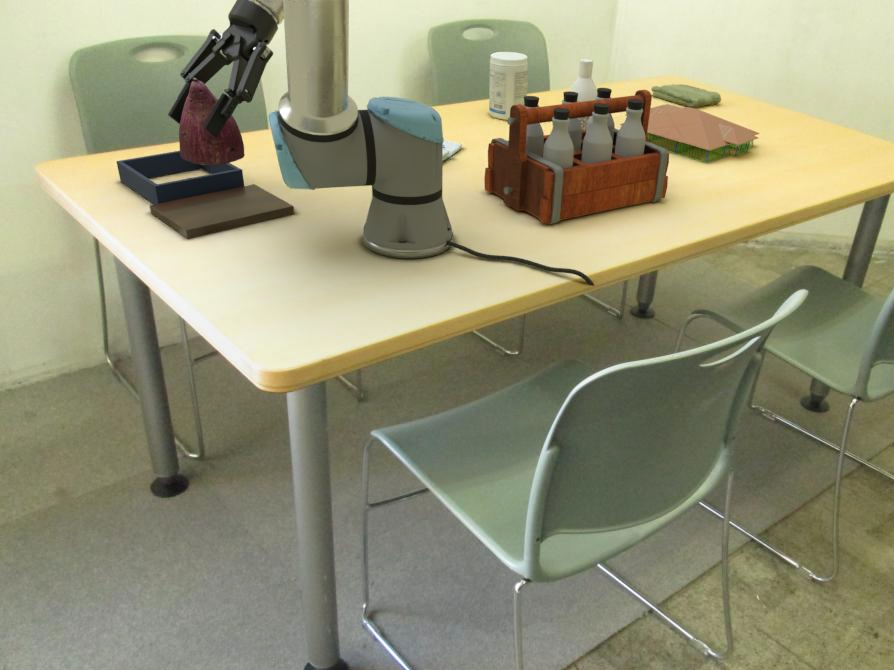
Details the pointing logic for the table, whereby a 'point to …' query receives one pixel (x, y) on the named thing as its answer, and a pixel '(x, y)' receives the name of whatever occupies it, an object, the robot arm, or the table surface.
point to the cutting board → (221, 210)
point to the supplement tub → (507, 82)
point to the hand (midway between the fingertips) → (192, 126)
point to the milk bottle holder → (577, 157)
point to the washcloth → (686, 95)
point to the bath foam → (585, 86)
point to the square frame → (146, 167)
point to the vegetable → (197, 139)
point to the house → (697, 130)
